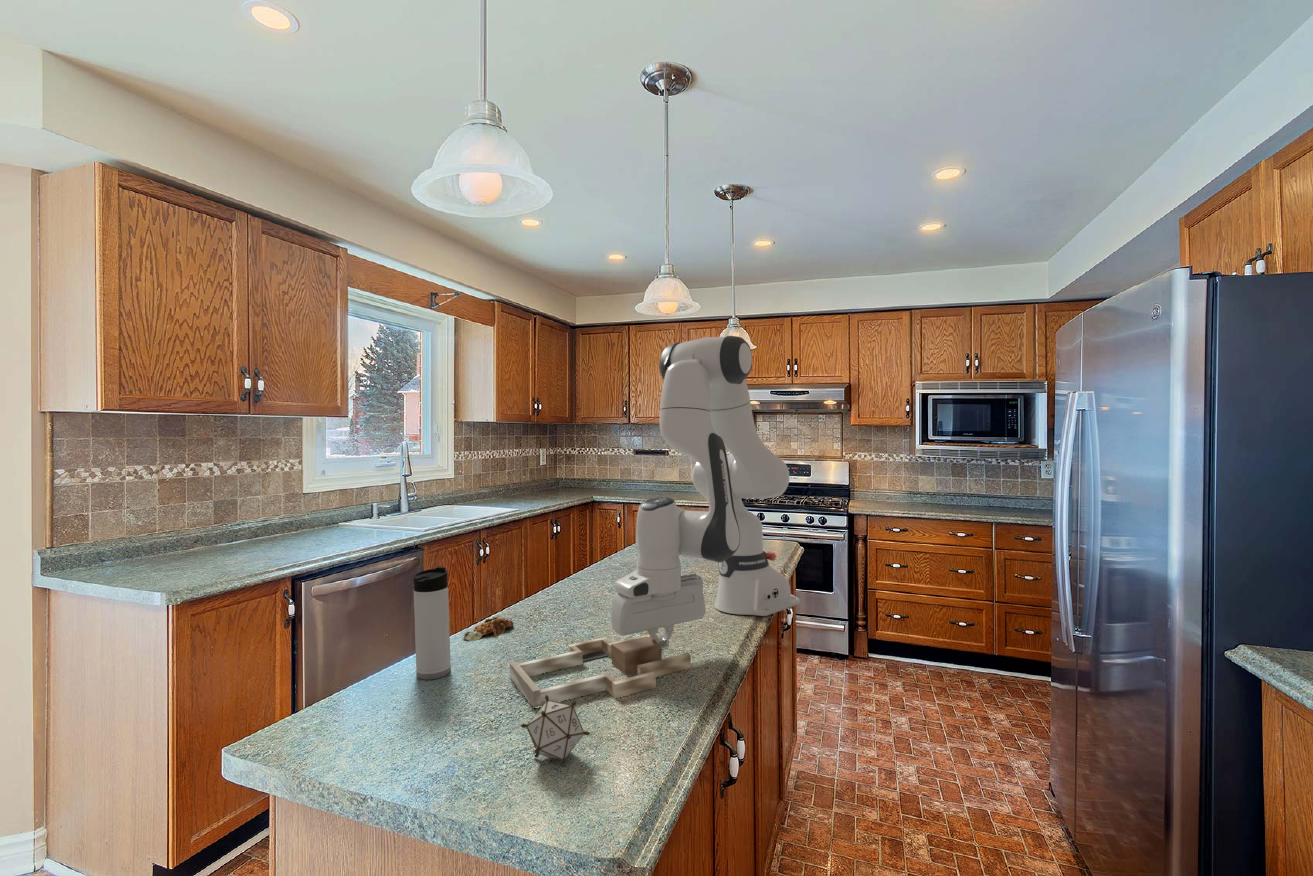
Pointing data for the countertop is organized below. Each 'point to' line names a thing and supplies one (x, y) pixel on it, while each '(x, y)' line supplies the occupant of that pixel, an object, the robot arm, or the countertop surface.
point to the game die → (555, 729)
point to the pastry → (489, 628)
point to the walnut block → (635, 653)
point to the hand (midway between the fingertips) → (660, 648)
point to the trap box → (592, 684)
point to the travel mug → (432, 624)
